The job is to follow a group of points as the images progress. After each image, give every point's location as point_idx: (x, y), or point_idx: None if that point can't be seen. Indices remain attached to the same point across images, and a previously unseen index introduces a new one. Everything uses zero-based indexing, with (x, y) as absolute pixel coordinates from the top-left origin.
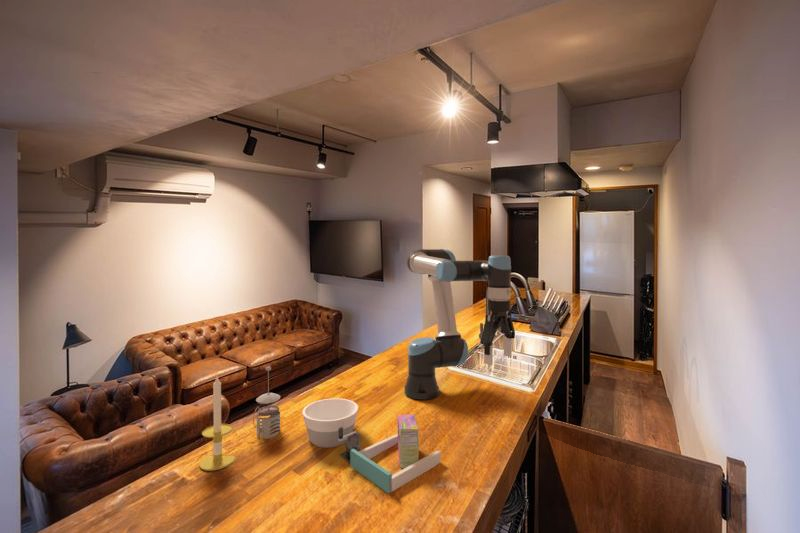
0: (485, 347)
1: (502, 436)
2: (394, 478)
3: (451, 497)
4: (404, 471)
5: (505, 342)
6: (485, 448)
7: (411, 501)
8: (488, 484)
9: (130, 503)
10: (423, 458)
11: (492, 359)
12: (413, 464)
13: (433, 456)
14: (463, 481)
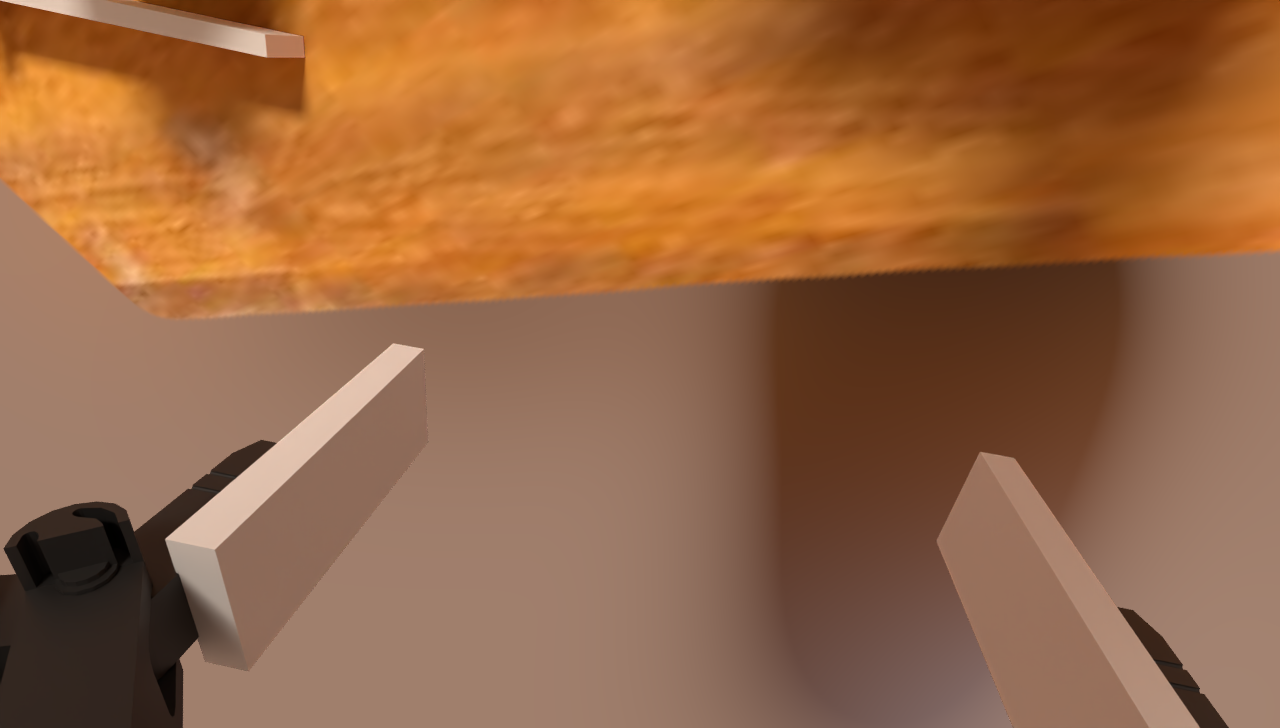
0: (147, 546)
1: (738, 220)
2: None
3: (187, 216)
4: (20, 1)
5: (1076, 667)
6: (567, 190)
7: (51, 102)
8: (345, 297)
9: None
10: (157, 15)
11: (394, 484)
12: (86, 3)
13: (219, 46)
14: (287, 212)
